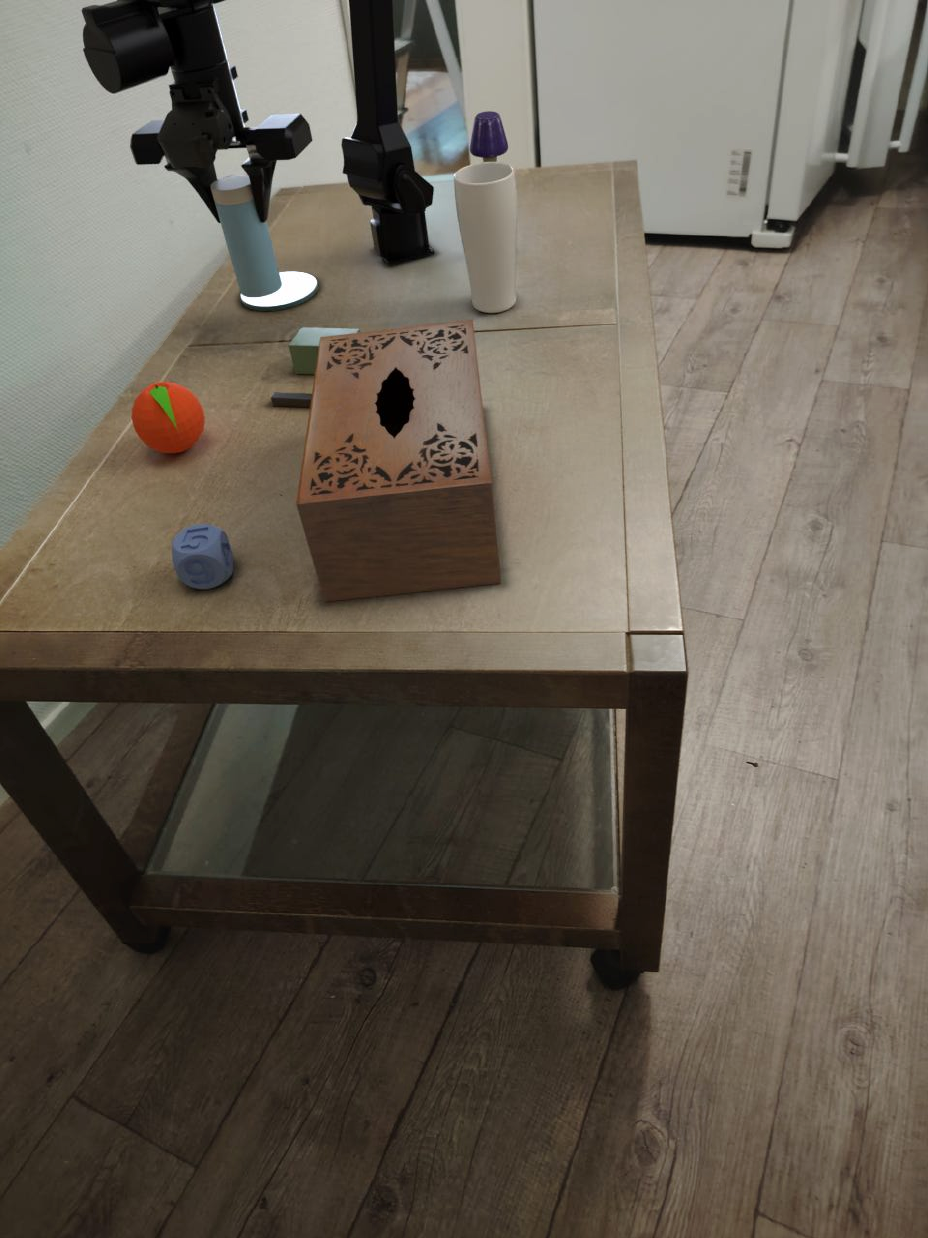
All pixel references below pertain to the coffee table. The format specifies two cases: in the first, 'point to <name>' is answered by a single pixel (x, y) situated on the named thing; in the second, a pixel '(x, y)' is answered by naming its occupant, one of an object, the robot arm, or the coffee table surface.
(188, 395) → the clementine
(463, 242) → the drinking glass
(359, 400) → the tissue box cover
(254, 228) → the plastic bottle
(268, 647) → the coffee table surface
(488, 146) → the toy lamp
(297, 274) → the coaster
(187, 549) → the decorative dice
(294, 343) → the cradle
